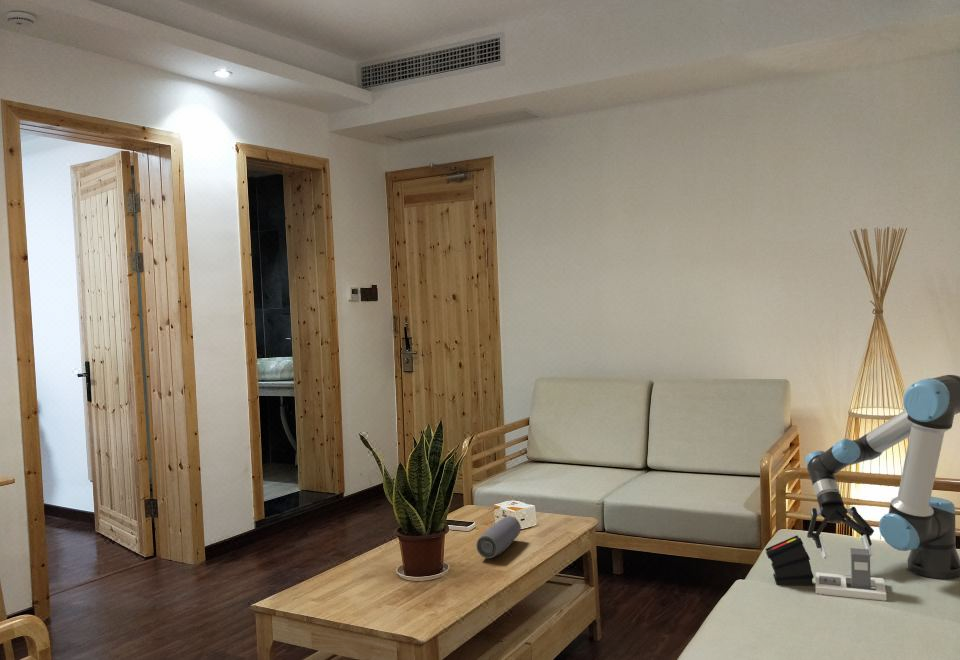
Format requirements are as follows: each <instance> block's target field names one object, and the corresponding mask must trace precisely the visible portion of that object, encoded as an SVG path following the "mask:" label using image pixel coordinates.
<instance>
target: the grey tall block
mask: <svg viewBox="0 0 960 660" xmlns="http://www.w3.org/2000/svg"><path fill="white" fill-rule="evenodd" d="M849 549H850V575H851V584H850V585H851V586H850V587H851V588H855V589H866V590H872V586H871V577H872V576H871V557H870V553H869V549H864V548H852V547H850V548H849Z"/></svg>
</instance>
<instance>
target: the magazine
mask: <svg viewBox="0 0 960 660" xmlns="http://www.w3.org/2000/svg"><path fill="white" fill-rule="evenodd" d="M765 554H766V556H767V558H768V559H769V560H770V562H771V567H772V570H773V574H772V575H773V578H774V582H775V585H777V586H810V587H811V586H813V582H814V581H813V579H814V577H815V576H814V573H813V571H812V566H811V563H810V560H811V558H810V555H809V553H808V552H807V550H806V549H805V546H804V542H803V540H802V539H801V537H799V535H794V536H791V537H790V538H787V539H785V540H782V541H780V542H778V543H776V544H774V545H771V546H768V547H766V548H765Z"/></svg>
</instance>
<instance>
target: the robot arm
mask: <svg viewBox="0 0 960 660" xmlns="http://www.w3.org/2000/svg"><path fill="white" fill-rule="evenodd" d="M902 405H903V408H904V410H903V411H901V412H900V413H897V415H895V416H893V417H891V418H890V419H888V420H887V421H885V422H884V423H882V424H880V425H878V426H877V427H875V428H874V429H872V430H871V431H869V432H867V433H866V434H864V435H862V436H861V437H859V438H857V439H853V440H852V439H848V438H842V439H841V440H839V441H837V442H835V443H834V444H833V445H832V446H831V447H829V449H827V450H826V451H823V450H816V451H813V452H810V453H808V454H807V455H806V457H805V463H806V470H807V471H808V474H809V477H810V481H811V483H812V486H813V487H812V488H813V491H814V494H815V497H816V500H817V504H818V506H819V509H817V508H816V507H813V508H811V511H810V515H811V519H810V523H809V525H808V526H809V527H808V531H807V535H806V537H807V538H809V539H810V538H811V539H812V540H813V541H814V543H815V546H816V548H817V549H819V550H820V553H821V557H822V559H823V560H827V558H828V556H829V555H828V551H827V549H826V546H825V542H824V539H823V535H822V536H821V534H822V532H823V530H824V528H825V527H826V525H827V523H830V524H835V523H838V524H839V523H840V524H841V523H843V524H844V525H847V526H848V527H849V528H851V529H852V530H853V531H855V532H856V533H857V534H859V535H860V536H861V544H862V545H863V549H869V553H870V558H871V557H872V555H873V551H872V548H871V546H872V544H873V543H872V540H871V536H872V535H873V534H874V532H875V530H874V529H873V528H872V526H870V524H869V523H868V522H867V521H866V520H865V519H864V518H863V516H861V515H860V513H859V512H858V510H857V508H856V506H851V507H850V508H846V507H845V504H844V501H843V497H842V494H841V491H840V488H839V485H838V483H837V479H836V474H837V473H839V472H840V471H842V470H843V469H845V468H847V467H848V466H852V465H856V464H859V463H862V462H865V461H872V460H874V459H877V458H878V457H880V456H882V455H883V453H884V452H885V451H886V450H888V449H890V448H892V447H894V446H895V445H897V444H899V443H901V442H903V441H904V440H906V439H908V444H907V447H906V448H907V449H906V453H905V457H904V463H903V466H902V473H901V477H900V478H901V479H900V483H899V488H898V492H897V496H896V497H893V498H892V499H891V500H890V504H889V508H888V509H889V510H888V513H886V514H884V515H883V516H882V517H881V518H880V519H879V523H878V529H879V533H880V536H881V538H883V540H884V541H885V543H886V544H888V545H889V546H890V547H891V548H894V549H895V550H897V551H902V552H908V551H910V552H909V553H908V557H907V560H906V561H907V562H906V563H907V564H906V565H907V568H908V570H909V571H910V572H912V573H914V574H916V575H918V576H921V577H926V578H931V579H942V580H948V579H957V578H959V577H960V556H959V554H958V550H957V548H956V515H957V514H956V509H955V508H956V507H955V503H954V502H952V501H951V500H948V499H945V498H942V497H936V496H932V492H933V488H934V485H935V484H934V483H935V479H936V474H937V469H938V465H939V460H940V454H941V451H942V447H943V446H942V445H943V443H944V436H945V433H946V432H947V431H949V430H951V429H952V428H953V423H954V418H955V415H957V414H959V413H960V376H959V375H956V374H955V375H954V374H946V375H944V374H943V375H940V376H937V377H931V378H924V379H920V380H918V381H916V382H914V383H912V384H910V385H909V387H908V388H906V390H905V392H904V395H903V397H902ZM819 515H820V516H821V517H822V518H823V520H822V521H821V524H819V526H818V528H817V530H816V532H814V531H815V526H816V522H817V517H819ZM851 517H852V518H853V519H852V518H851Z"/></svg>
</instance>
